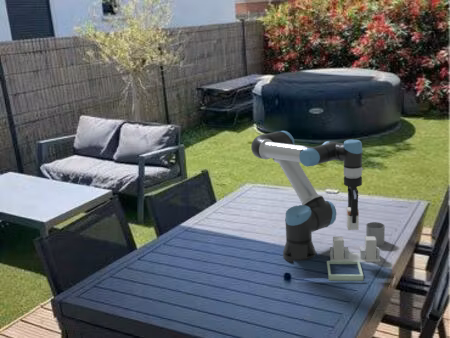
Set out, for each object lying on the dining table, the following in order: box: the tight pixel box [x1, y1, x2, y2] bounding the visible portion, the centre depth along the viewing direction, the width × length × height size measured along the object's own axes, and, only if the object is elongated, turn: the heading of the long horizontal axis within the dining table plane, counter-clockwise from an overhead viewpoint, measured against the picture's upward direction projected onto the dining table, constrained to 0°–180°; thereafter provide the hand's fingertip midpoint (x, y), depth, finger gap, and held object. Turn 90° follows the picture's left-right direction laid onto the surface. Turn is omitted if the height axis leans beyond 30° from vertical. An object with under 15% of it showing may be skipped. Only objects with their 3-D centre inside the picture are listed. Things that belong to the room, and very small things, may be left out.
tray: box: [326, 260, 364, 282], centre depth 211 cm, size 14×14×2 cm
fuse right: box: [364, 235, 377, 259], centre depth 220 cm, size 4×4×9 cm
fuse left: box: [332, 236, 345, 259], centre depth 222 cm, size 4×4×9 cm
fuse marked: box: [346, 206, 360, 231], centre depth 216 cm, size 4×4×9 cm
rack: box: [329, 246, 381, 263], centre depth 222 cm, size 21×9×6 cm, turn 82°
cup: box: [365, 221, 386, 246], centre depth 236 cm, size 8×8×10 cm
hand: (352, 227), depth 217 cm, fingers closed on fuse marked, 4 cm apart
